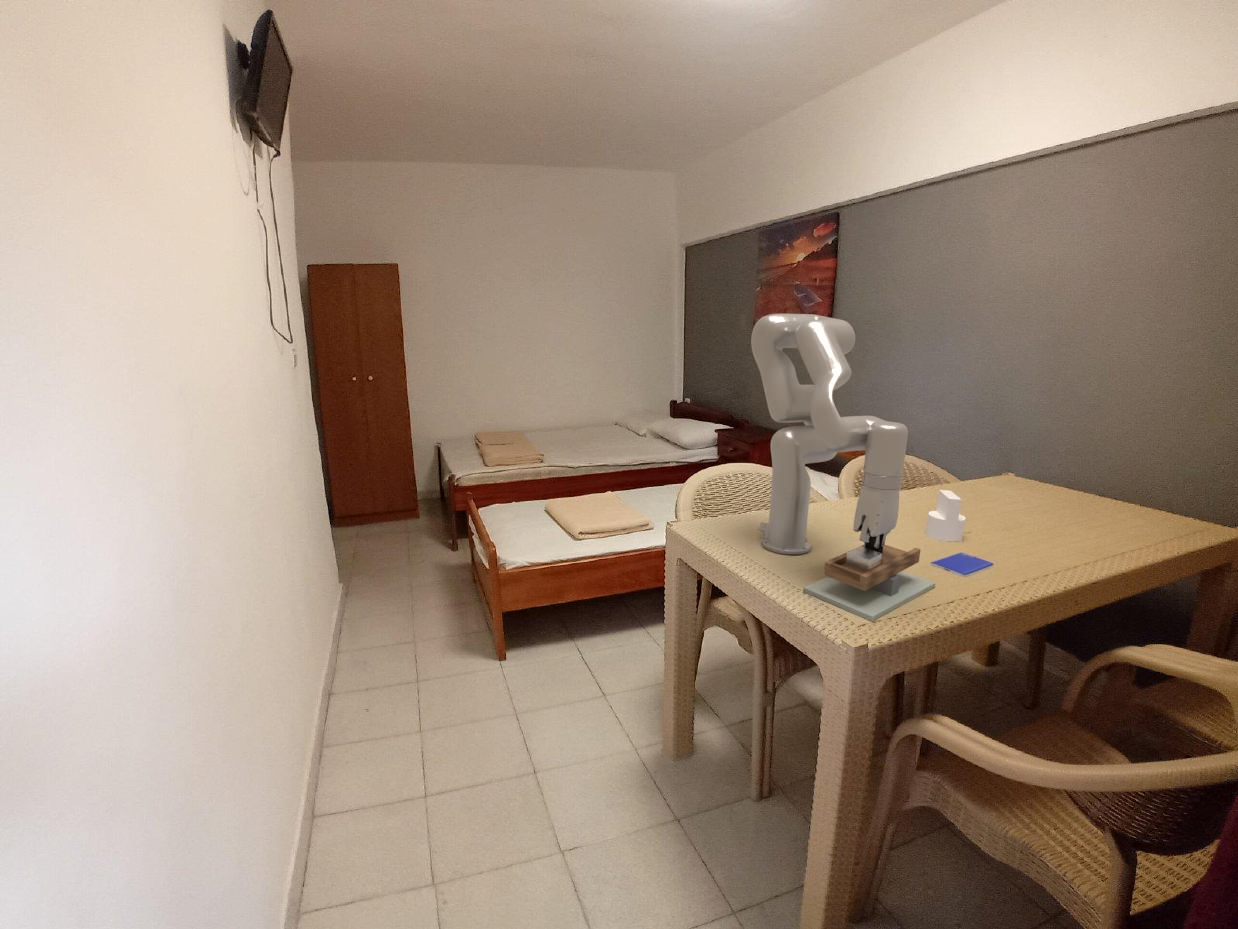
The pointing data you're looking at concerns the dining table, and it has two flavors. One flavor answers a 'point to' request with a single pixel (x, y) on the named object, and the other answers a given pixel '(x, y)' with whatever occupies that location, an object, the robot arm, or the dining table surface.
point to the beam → (889, 567)
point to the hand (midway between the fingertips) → (872, 562)
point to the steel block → (863, 559)
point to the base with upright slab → (946, 518)
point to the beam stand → (870, 594)
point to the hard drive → (962, 564)
